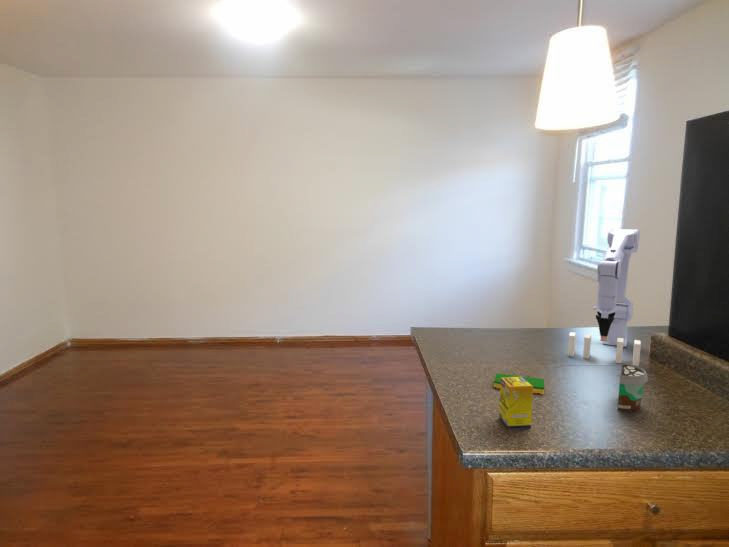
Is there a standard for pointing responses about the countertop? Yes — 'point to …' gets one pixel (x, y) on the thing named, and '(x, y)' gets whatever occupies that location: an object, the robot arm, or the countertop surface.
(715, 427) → the countertop surface
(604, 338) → the domino
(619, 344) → the domino
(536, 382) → the dish sponge
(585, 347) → the domino
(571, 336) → the domino
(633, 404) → the food container
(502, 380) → the supplement box
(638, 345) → the domino
